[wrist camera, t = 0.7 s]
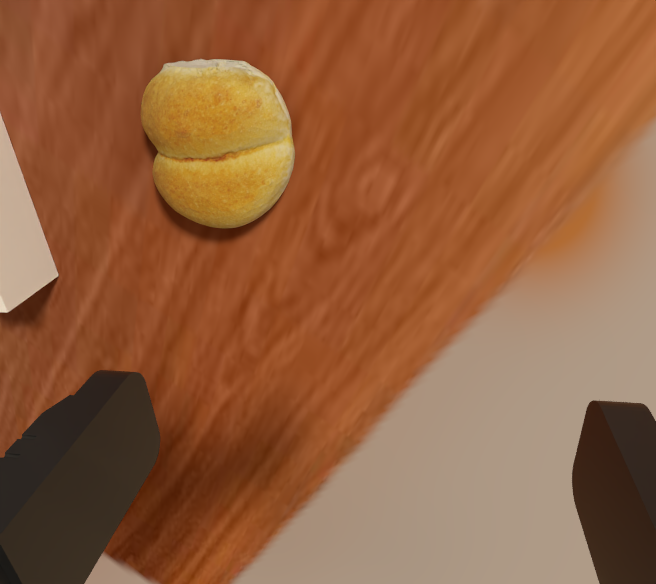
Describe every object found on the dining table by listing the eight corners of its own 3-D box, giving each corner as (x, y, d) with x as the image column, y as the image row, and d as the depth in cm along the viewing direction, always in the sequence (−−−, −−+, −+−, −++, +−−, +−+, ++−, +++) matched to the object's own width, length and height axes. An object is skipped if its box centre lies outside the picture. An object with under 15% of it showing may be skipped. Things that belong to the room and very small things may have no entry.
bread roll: (173, 216, 32) (143, 241, 29) (145, 59, 28) (105, 66, 24) (302, 220, 31) (287, 247, 27) (294, 57, 27) (274, 63, 23)
